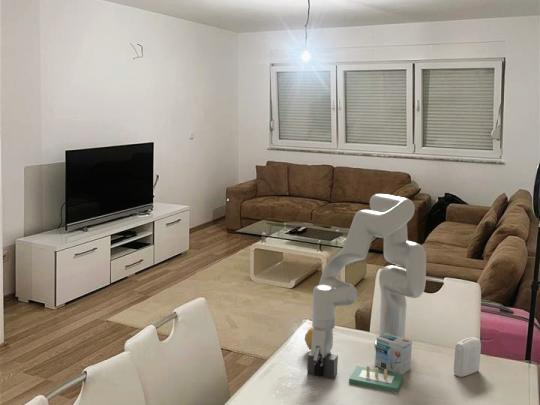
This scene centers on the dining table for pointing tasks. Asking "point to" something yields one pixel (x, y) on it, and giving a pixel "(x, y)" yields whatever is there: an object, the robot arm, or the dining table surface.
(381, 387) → the board
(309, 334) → the stress ball
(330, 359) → the gray rectangular block
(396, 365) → the light bulb box
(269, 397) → the dining table surface
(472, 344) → the white upright block
